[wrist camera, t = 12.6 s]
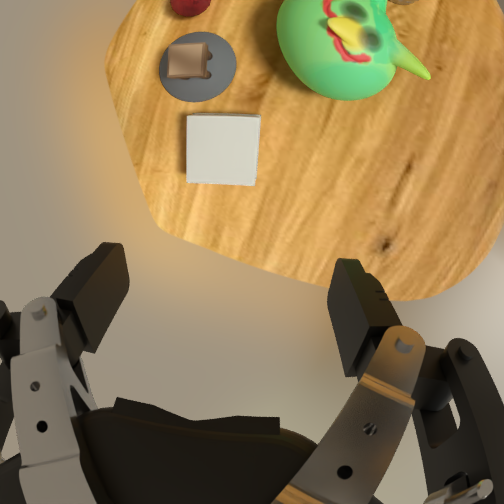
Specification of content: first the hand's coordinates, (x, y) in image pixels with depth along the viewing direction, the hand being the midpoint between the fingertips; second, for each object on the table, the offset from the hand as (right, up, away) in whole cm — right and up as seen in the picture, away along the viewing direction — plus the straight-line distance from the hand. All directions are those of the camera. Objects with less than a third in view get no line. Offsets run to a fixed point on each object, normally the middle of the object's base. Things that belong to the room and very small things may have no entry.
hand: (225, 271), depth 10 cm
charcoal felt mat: (-7, +29, +25) cm, 39 cm away
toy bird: (+13, +32, +23) cm, 42 cm away
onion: (-8, +39, +20) cm, 44 cm away
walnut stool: (-7, +29, +25) cm, 39 cm away
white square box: (-3, +17, +32) cm, 36 cm away
